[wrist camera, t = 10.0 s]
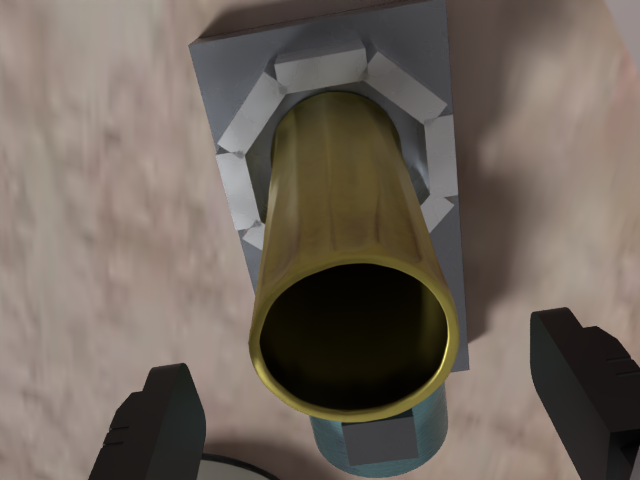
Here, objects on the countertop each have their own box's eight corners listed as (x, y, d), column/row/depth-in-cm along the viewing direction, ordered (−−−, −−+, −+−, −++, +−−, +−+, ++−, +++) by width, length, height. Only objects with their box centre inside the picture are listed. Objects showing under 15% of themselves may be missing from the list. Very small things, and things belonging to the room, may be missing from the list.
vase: (243, 148, 26) (177, 335, 14) (346, 61, 25) (379, 182, 12) (327, 237, 28) (337, 470, 16) (427, 163, 27) (528, 358, 14)
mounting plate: (197, 38, 26) (134, 86, 17) (436, -6, 25) (504, 20, 16) (283, 373, 35) (272, 519, 26) (461, 347, 34) (513, 489, 25)
